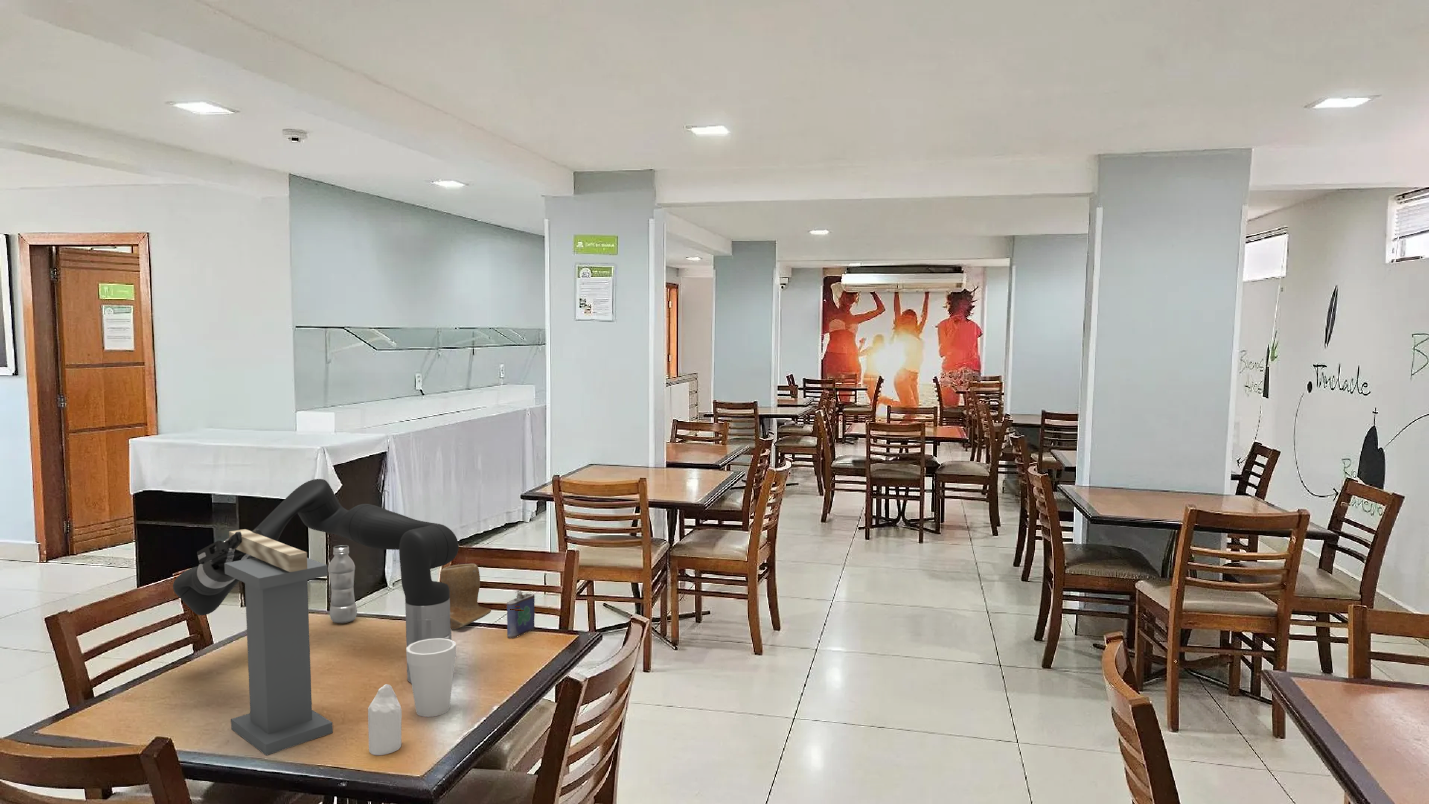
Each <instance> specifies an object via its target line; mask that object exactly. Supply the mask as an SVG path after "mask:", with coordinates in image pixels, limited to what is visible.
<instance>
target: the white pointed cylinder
mask: <svg viewBox="0 0 1429 804" xmlns="http://www.w3.org/2000/svg"><path fill="white" fill-rule="evenodd" d="M398 699H399V698H398V697H397V694H396V693H395V691H394V689H393V686H391V684H387V683H386V684H384V685H383V686H381V687H379V688H378V690H377V692H376V695H375V696H374V698H373V699H372V701H371V702H370V704H369V705H368V708H367V723H368V724H367V728H368V751H369V754H371V755H373V756H385V755H389V754H392V753H394V752H396V751H399V749H401V747H402V719H403V718H402V706H401V703H400V702H399V700H398Z"/></svg>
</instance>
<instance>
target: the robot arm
mask: <svg viewBox="0 0 1429 804" xmlns="http://www.w3.org/2000/svg"><path fill="white" fill-rule="evenodd" d="M296 515H298V516H299V518H300V520H301V521H302V523H303V524H304V525H305V526H306V527H307V528H309V530H310V529H311V530H313V531H316V532H317V531H318V532H323V533H327V534H333V535H337V536H339V537H342V538H344V539H348V540H350V541H353V542H356V543H357V544H360V545H362V546H365V547H367V548H371V549H377V550H388V551H389V550H392V551H394V550H395V551H396V550H397V551H398V552H399V553H398V554H399V557H398V558H399V568H400V577H401V580H400V581H401V586H402V591H403V594H404V599H405V600H404V601H405V603H404V605H405V607H404V608H405V638H406V640H405V641H406V642H405V643H406V648H407V647H408V646H409V645H410V644H412V643H415V642H417V641H421V640H426V639H435V638H443V639H450V640H452V638H453V637H452V629H451V628H450V590H449V586H448V585H447V584H445V583H442V582H441V581H436V580H433V579H432V574H431V570H433V569H436V568H439V567H444V566H445V565H447V564H449V563H451V562H452V561H454V559H456V556H458V553H459V548H460V546H459V545H460V544H459V540H458V538H457V536H456V534H455V533H454V531H452V529H450V528H449V527H448V526H446V525H444V524H441V523H435V522H429V521H424V520H419V519H415V518H411V517H409V516H406V515H404V514H401V513H398V512H395V511H391V510H388V509H386V508H384V507H381V506H378V505H374V504H371V503H361V504H358V505H355V506H354V507H351V508H350V509H346V508H345V507H343V506H342V504H341V503H340V502H339V500H338V498H337V496H336V494H335V493H334V490H333V488H332V487H331V485H330V484H329V482H328V481H327V480H326V479H322V478H316V479H314V478H313V479H311V480H308V481H306V482H304V483H302V484H301V485H299V486H298V487H297V488H296V489H294V490H293V491H292V492H291V493H290V494H288V496H286V497H285V499H283V500H282V502H280V503H279V504H278V505H277V506H276V507H275V508H274V509H273V510H272V511H271V512H270V513H269V514H268V515H267V516H266V517H265V518H264V519H263V520H262V521H261V522H260V523H259V524H258V525H257V526H256V527H255V528H254V529H253V530H251V531H252V532H253V533H256V534H259V535H262V536H265V537H267V538H270V539H273V540H275V541H278V542H279V539H280V536H281V535H282V533H283V531H284V529H285V528H286V526H287V525H288V523H289V522H290V521H291V520H292V518H294V517H295V516H296ZM241 536H242V534H241V532H236V533H235V534H234V535H232V536H231V537H230V538H229V537H228V538H226V539H225V540H223V541H222V540H217V541H214V542H213V543H210V544H209V545H208V546H205V547H204V548H202V549H200V550H197V552H196V554H197V558H198V562H199V563H198V566H194V567H190V568H189V569H187V570H184V571H183V572H182V573H180V574H179V575H178V576H177V577H176V578H175V579H174V582H173V583H172V590H173V592H174V593H175V594H176V596H177V597H178V598H180V600H181V601H182V602H183V603H184V604H185V605H186V606H187V607H188V608H189V609H190V610H191V611H192V612H193V613H194V614H196V615H197V616H206V615H210V614H211V613H213V612H215V611H216V610H217V609H218V608H220V607H219V606H221V604H222V603H223V602H224V600H225V599H226V597H227V596H228V595H229V594H230V592H231V591H232V590H233V588H234V587H235V586H236V585H237V584H238V583H239V582H241V581H240V580H238V579H235V578H233V577H231V576H229V575H227V574H225V565H224V563H228V562H234V561H239V560H245V559H251V558H256V557H253V556H251V555H249V554H246V553H244V552H242V551H239V550H237V549H235V548H237V547H238V546H239V545H240V543H241V542H242V538H241ZM406 673H407V674H406V676H407V681H408V682H409V683H411V677H410V671H409V665H408V663H407V662H406ZM411 684H412V683H411Z"/></svg>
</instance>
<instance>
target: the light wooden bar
mask: <svg viewBox="0 0 1429 804" xmlns="http://www.w3.org/2000/svg"><path fill="white" fill-rule="evenodd" d="M252 531H253V530H249V529H246V528H244V529H237V530H230V531H228V535H229V536H228V538H230V537H231V536H232V535H234V534H235V533H236V532H241V534H242V536H241V538H242V542H241V543H240V545H239V546H238V547H237V548H235V549H237V550H239V551H242V552H244V553H246V554H249V555H251V556H253V557H256V558H258V559H260V560H263V561H265V562H267V563H270V564H272V565H274V566H277V567H279V568H282V569H284V570H286V571H289V572H294V571H299V570H304V569H307V558H308V552H307V551H304V550H301V549H299V548H296V547H293V546H290V545H288V544H285V543H283V542H280V541H279V540H278V541H275V540H273V539H270V538H267V537H265V536H262V535H259V534H256V533H253V532H252Z"/></svg>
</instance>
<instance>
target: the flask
mask: <svg viewBox="0 0 1429 804" xmlns="http://www.w3.org/2000/svg"><path fill="white" fill-rule="evenodd" d="M514 593H515V594H516V598H513V599H511V600H509V601H507V602H506V621H507V622H506V624H507V627H506V631H507V633H506V637H507V639H511V638H512V639H514V638H515V637H516V638H518V637H520V636H524V635H525V634H526V633H529V632H532V631H534V630H535V627H536V626H535V618H536V617H535V615H536V613H535V603H536V601H535V600H536V599H535V598H536V597H535V594H532V593H525V594H523V593H524V592H522V590H517V591H516V592H514ZM515 606H520V607H515ZM510 609H521V610H524V611H515V610H510ZM531 630H532V631H531ZM524 633H525V634H524ZM519 635H520V636H519ZM517 636H518V637H517ZM516 638H515V639H516Z"/></svg>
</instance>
